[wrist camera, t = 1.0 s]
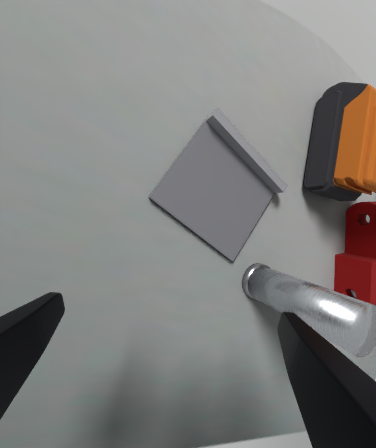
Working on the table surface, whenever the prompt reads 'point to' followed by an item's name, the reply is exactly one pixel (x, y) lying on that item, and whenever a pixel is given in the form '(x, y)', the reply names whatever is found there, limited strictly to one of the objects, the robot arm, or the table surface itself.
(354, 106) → the power drill
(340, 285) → the mechanical linkage
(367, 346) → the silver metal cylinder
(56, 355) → the table surface
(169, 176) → the bracket
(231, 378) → the table surface
